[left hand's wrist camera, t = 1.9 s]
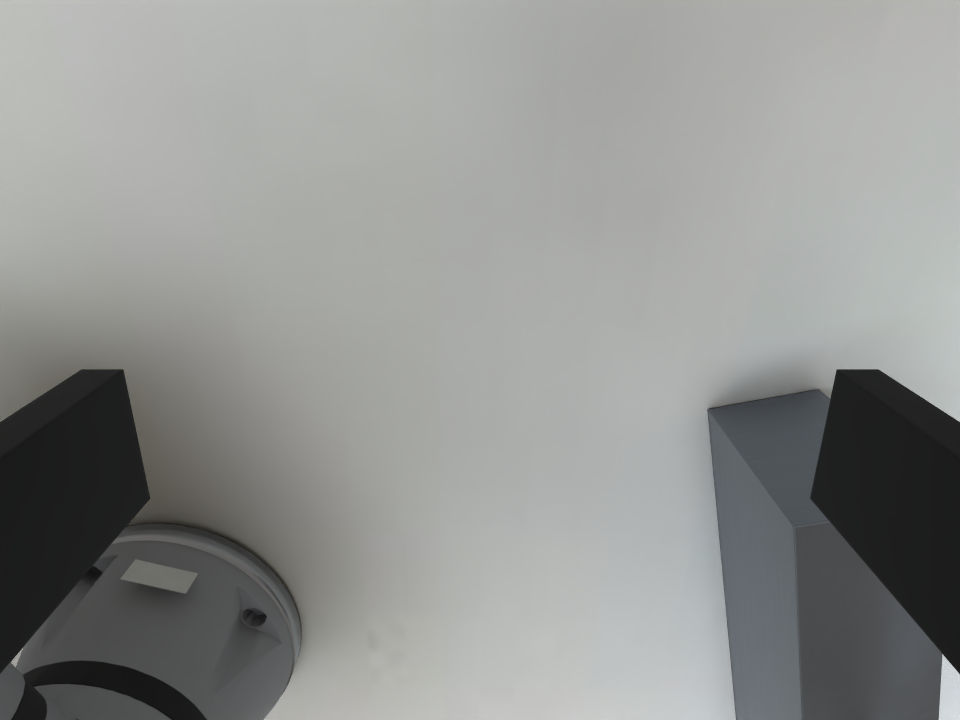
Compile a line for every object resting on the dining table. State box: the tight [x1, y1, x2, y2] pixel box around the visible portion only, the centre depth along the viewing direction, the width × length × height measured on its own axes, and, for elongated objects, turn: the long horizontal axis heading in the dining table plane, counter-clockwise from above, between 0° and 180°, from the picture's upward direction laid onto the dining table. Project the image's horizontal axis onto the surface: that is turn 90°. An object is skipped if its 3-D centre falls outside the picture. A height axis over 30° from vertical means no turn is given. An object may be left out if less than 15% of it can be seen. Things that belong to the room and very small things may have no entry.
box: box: [708, 390, 942, 720], centre depth 35 cm, size 26×6×11 cm, turn 12°
